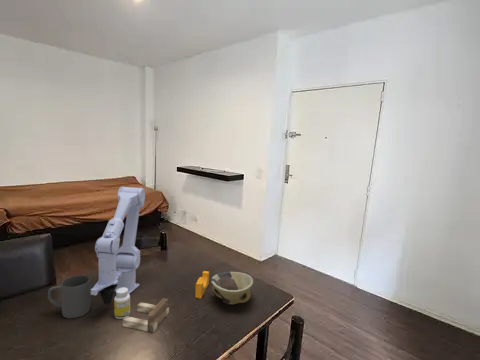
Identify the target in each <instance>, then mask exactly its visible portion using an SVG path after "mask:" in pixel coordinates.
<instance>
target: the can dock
mask: <svg viewBox="0 0 480 360" xmlns="http://www.w3.org/2000/svg"><path fill="white" fill-rule="evenodd" d="M136 306H137V307H136V308H137V309H136V311H137V312H140V313H145V314H148V315H147V319H143V318H138V317H137V318H136V317H134V316H133V317H132V316H126V317H125V318H123V319H122V327H124V328H130V329H135V330H139V331H144V332H148V333H151V334H152V333H153V334H154V333H156V332H157V330H158V326H159V325H160V324H161V323H162V322H163V320H164V319H165V318H167V317H168V316H169V315H170V307H169V298H165V297H163V298H161V300H160V301H158V303H157V304H151V303H147V302H139V303H138V304H137V305H136Z"/></svg>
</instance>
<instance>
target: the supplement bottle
mask: <svg viewBox="0 0 480 360" xmlns="http://www.w3.org/2000/svg"><path fill="white" fill-rule="evenodd" d="M115 294H116V295H115V296H114V298H113V300H114V302H113V305H114V306H113V308H114V311H113V312H114V313H113V315H114V318H116V319H119V320H120V319H122V320H123V319H124V318H125V317H126V316H128V317H130V313H131V295H130V294H128V289H127V288H125V287H123V288H119V289H117V291H115Z"/></svg>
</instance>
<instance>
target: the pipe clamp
mask: <svg viewBox="0 0 480 360" xmlns="http://www.w3.org/2000/svg"><path fill="white" fill-rule="evenodd" d="M201 275H202V276H200V277H198V279H197V281H196V283H195V288H194V289H195V292H194V293H195V294H194V296H195V298H196V299H202V297H203V296H204V294H205V292H206V290H207V288H208V286H209V281H210V271H206V270H203V271H202V274H201Z"/></svg>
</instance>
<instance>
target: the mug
mask: <svg viewBox="0 0 480 360" xmlns="http://www.w3.org/2000/svg"><path fill="white" fill-rule="evenodd" d="M54 290H61V303H60V302H57V301H56V300H55V299H54V298H53V297H52V292H53V291H54ZM47 299H48V302H49V303H51V304H52V305H53V306H56V307H59V308H61V314H62V317H64V318H66V319H77V318H79V317H82V316H84V315H86V314H88V312H89V311H90V310H91V279H90V276H88V275H84V274H79V275H73V276H69V277H66V278H65V279H64V280H62V282H61V285H55V286H52V287H50V288H49V289H48V290H47Z"/></svg>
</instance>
